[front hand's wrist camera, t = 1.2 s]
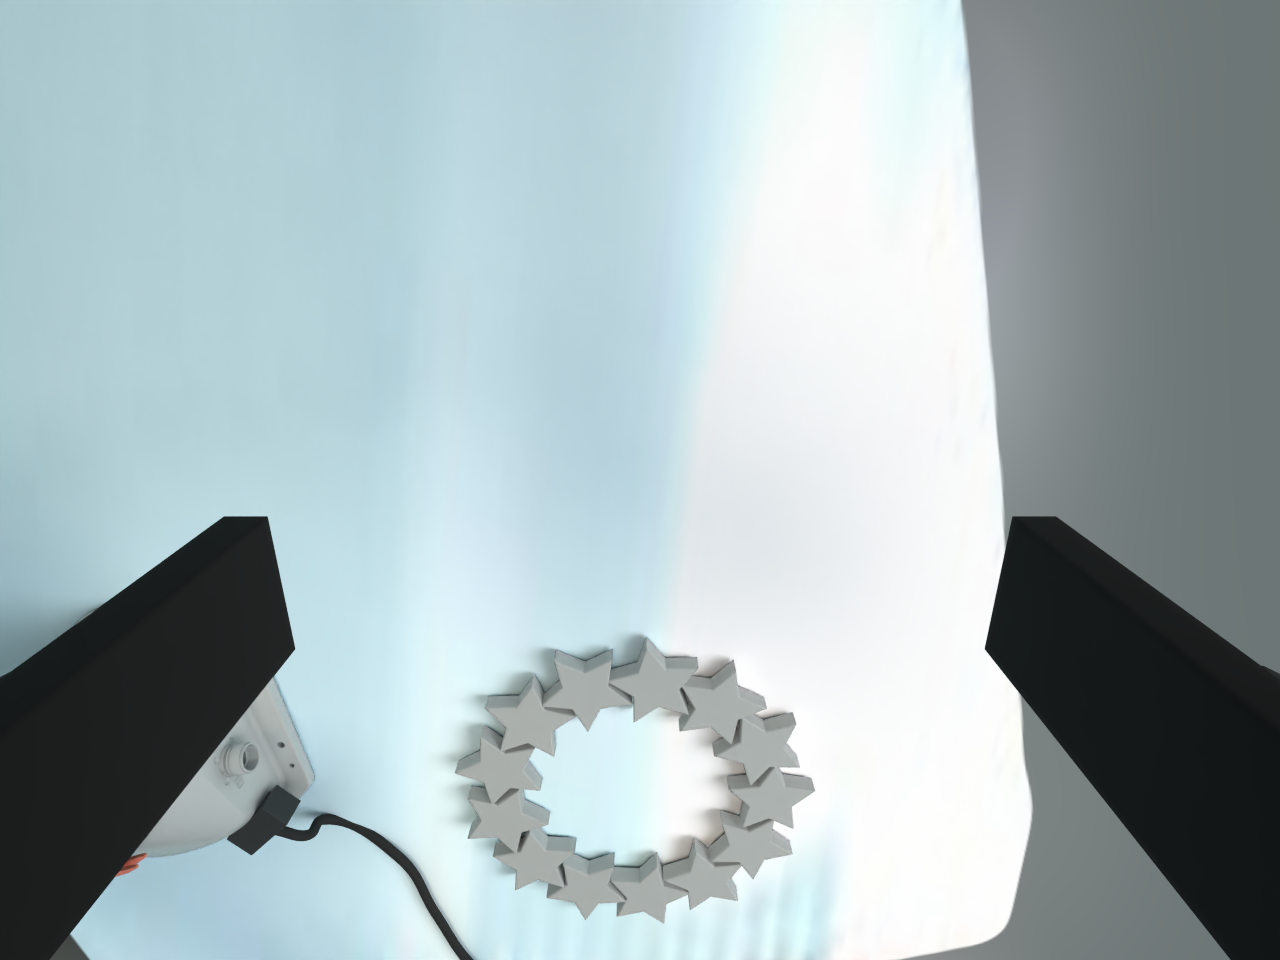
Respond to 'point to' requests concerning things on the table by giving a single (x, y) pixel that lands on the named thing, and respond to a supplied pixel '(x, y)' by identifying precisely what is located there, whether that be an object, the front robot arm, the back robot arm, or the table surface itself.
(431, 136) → the table surface
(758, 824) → the decorative wreath
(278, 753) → the back robot arm
